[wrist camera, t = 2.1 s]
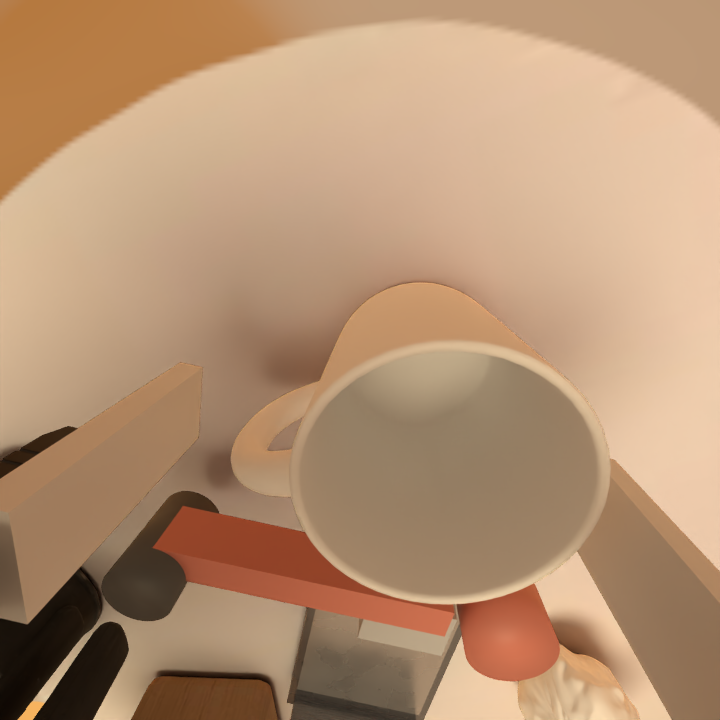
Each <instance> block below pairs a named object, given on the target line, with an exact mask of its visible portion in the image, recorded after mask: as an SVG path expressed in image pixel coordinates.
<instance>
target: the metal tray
mask: <svg viewBox="0 0 720 720" xmlns="http://www.w3.org/2000/svg"><path fill="white" fill-rule="evenodd" d="M454 605H455V610H456V616H457V622H456V624H455V626H454V628H453V631H452V633H451V635H450V638H449V640H448V642H447V645H446V647H445V649H444V651H443V654H442V656H439V655H434V654H430V653H425V652H420V651H416V650H411V649H406V648H402V647H397V646H392V645H388V644H383V643H379V642H374V641H369V640H365V639H360V638H358V628H359V618H356V617H351V616H346V615H342V614H337V613H332V612H328V611H323V610H318V609H314V608H309V607H308V609H307V613H306V618H305V622H304V627H303V631H302V636H301V640H300V645H299V649H298V654H297V658H296V663H295V667H294V671H293V676H292V680H291V685H290V690H289V695H288V699H287V703H291V704H293V709H292V714H291V719H290V720H424V718H425V715H426V713H427V711H428V709H429V706H430V704H431V702H432V700H433V698H434V695H435V693H436V691H437V689H438V686H439V684H440V682H441V680H442V678H443V675H444V673H445V671H446V669H447V666H448V664H449V662H450V660H451V657H452V655H453V653H454V651H455V649H456V646H457V644H458V642H459V640H460V637H461V635H462V633H461V628H460V622H459V617H458V611H457V606H456V604H454Z"/></svg>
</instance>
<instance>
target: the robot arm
mask: <svg viewBox="0 0 720 720" xmlns="http://www.w3.org/2000/svg"><path fill="white" fill-rule="evenodd" d="M202 374H203V367H199V366H195V365H190V364H186V363H182V362H180V363H178V364H177V365H175V366H174V367H172V368H171V369H169V370H168V371H166V372H165V373H163V374H161V375H160V376H158V377H157V378H155V379H154V380H152V381H151V382H149V383H148V384H146V385H144V386H143V387H141V388H140V389H138V390H137V391H135V392H134V393H132V394H131V395H129V396H127V397H126V398H124V399H123V400H121V401H120V402H118V403H117V404H115V405H114V406H112V407H110V408H109V409H107V410H106V411H104V412H103V413H101V414H100V415H98V416H96V417H95V418H93V419H92V420H90V421H89V422H87V423H86V424H84V425H83V426H81V427H79V428H74V427H70V426H67V427H64V428H61V429H59V430H56V431H53V432H50V433H47V434H44V435H42V436H40V437H38V438H37V439H35V440H33V441H32V442H30V443H28V444H27V445H25V446H23V447H22V448H21V450H20V451H15V452H13V453H12V454H10V455H8V456H7V457H5V458H3V460H2V462H0V618H2V619H7V620H11V621H15V622H19V623H24V624H28V623H29V622H30V621H31V620H32V619H33V618H34V617H35V616H36V615H37V614H38V613H39V611H40V610H41V609H42V608H43V607H44V606H45V605H46V604H47V603H48V602H49V600H50V599H51V598H52V597H53V596H54V595H55V594H56V593H57V592H58V591H59V590H60V588H61V587H62V586H63V585H64V584H65V583H66V582H67V581H68V580H69V579H70V578H71V576H72V575H73V574H74V573H75V572H76V571H77V570H78V569H79V568H80V567H81V566H82V564H83V563H84V562H85V561H86V560H87V559H88V558H89V557H90V556H91V555H92V554H93V552H94V551H95V550H96V549H97V548H98V547H99V546H100V545H101V544H102V543H103V541H104V540H105V539H106V538H107V537H108V536H109V535H110V534H111V533H112V532H113V531H114V529H115V528H116V527H117V526H118V525H119V524H120V523H121V522H122V521H123V520H124V519H125V517H126V516H127V515H128V514H129V513H130V512H131V511H132V510H133V509H134V508H135V507H136V505H137V504H138V503H139V502H140V501H141V500H142V499H143V498H144V497H145V496H146V495H147V493H148V492H149V491H150V490H151V489H152V488H153V487H154V486H155V485H156V484H157V482H158V481H159V480H160V479H161V478H162V477H163V476H164V475H165V474H166V473H167V472H168V470H169V469H170V468H171V467H172V466H173V465H174V464H175V463H176V462H177V461H178V460H179V458H180V457H181V456H182V455H183V454H184V453H185V452H186V451H187V450H188V449H189V448H190V446H191V445H192V444H193V443H194V442H195V441H196V440H197V439H198V438H199V426H200V409H201V392H202ZM610 465H611V471H610V486H609V490H608V495H607V499H606V503H605V506H604V508H603V511H602V513H601V516H600V519H599V520H598V522H597V524H596V526H595V527H594V529H593V531H592V533H591V534H590V536H589V537H588V538H587V539H586V541H585V542H584V543H583V545H582V546H581V547H580V548H579V549H578V550H577V552H578V553H579V555H580V557H581V559H582V561H583V562H584V564H585V566H586V568H587V569H588V571H589V573H590V575H591V577H592V578H593V580H594V582H595V584H596V585H597V587H598V589H599V591H600V593H601V594H602V596H603V598H604V600H605V601H606V603H607V605H608V607H609V609H610V610H611V612H612V614H613V616H614V617H615V619H616V621H617V623H618V625H619V626H620V628H621V630H622V632H623V633H624V635H625V637H626V639H627V641H628V642H629V644H630V646H631V648H632V649H633V651H634V653H635V655H636V657H637V658H638V660H639V662H640V664H641V665H642V667H643V669H644V671H645V673H646V674H647V676H648V678H649V680H650V682H651V683H652V685H653V687H654V689H655V690H656V692H657V694H658V696H659V698H660V699H661V701H662V703H663V705H664V706H665V708H666V710H667V712H668V714H669V715H670V717H671V719H672V720H720V571H719V570H718V569H717V568H716V567H715V566H714V565H713V564H712V563H711V562H710V561H709V560H708V559H707V557H706V556H705V555H704V554H703V553H702V552H701V551H700V550H699V549H698V548H697V547H696V546H695V545H694V544H693V543H692V541H691V540H690V539H689V538H688V537H687V536H686V535H685V534H684V533H683V532H682V531H681V530H680V529H679V528H678V527H677V526H676V524H675V523H674V522H673V521H672V520H671V519H670V518H669V517H668V516H667V515H666V514H665V513H664V512H663V511H662V510H661V508H660V507H659V506H658V505H657V504H656V503H655V502H654V501H653V500H652V499H651V498H650V497H649V496H648V495H647V494H646V493H645V491H644V490H643V489H642V488H641V487H640V486H639V485H638V484H637V483H636V482H635V481H634V480H633V479H632V478H631V477H630V476H629V474H628V473H627V472H626V471H625V470H624V469H623V468H622V467H621V466H620V465H619V464H618V463H617V462H616V461H615V460H614V459H610Z"/></svg>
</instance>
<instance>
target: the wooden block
mask: <svg viewBox="0 0 720 720" xmlns="http://www.w3.org/2000/svg"><path fill="white" fill-rule="evenodd" d="M131 720H278V718H277V714H276V709H275V705H274V700H273V696H272V692H271V687H270V685H268V684H267V683H266V682H263V681H261V680H250V679H224V678H199V677H174V676H161V677H158V678H155V679H154V680H153V681H152V683H151V684H150V685H149V686H148V688H147V690H146V692H145V694H144V696H143V698H142V699H141V701H140V703H139V705H138V707H137V709H136V711H135V713H134V715H133V717H132V719H131Z"/></svg>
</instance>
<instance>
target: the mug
mask: <svg viewBox="0 0 720 720" xmlns="http://www.w3.org/2000/svg"><path fill="white" fill-rule="evenodd" d="M302 417H303V419H302V422H301V424H300V426H299V428H298V431H297V434H296V437H295V440H294V443H293V445H292V449H288V450H281V451H267V449H268V447H269V445H270V443H271V442H272V440H273V439H274V438H275V436H276V435H277V434H278V433H280V432H281V431H282V430H283V429H284V428H286V427H287V426H288V425H290V424H291V423H293V422H295V421H296V420H298V419H300V418H302ZM231 465H232V469H233V473H234V475H235V476H236V477H237V479H238V480H239V481H240V482H241V484H242V485H244V486H245V487H247V488H248V489H250V490H252V491H255V492H257V493H260V494H263V495H267V496H275V497H291V498H292V502H293V505H294V509H295V512H296V515H297V517H298V519H299V522H300V524H301V526H302V528H303V530H304V531H305V533H306V535H307V536H308V538H309V539H310V541H311V542H312V544H313V545H314V546H315V547H316V548H317V550H318V551H319V552H320V553H321V554H322V555H323V556H324V557H325V558H326V559H327V560H328V561H329V562H330V563H331V564H332V565H333V566H334V567H336V568H337V569H338V570H340V571H341V572H342V573H344V574H345V575H346V576H348V577H350V578H351V579H353V580H355V581H357V582H358V583H360V584H362V585H364V586H366V587H368V588H370V589H373V590H375V591H377V592H380V593H383V594H386V595H389V596H392V597H395V598H399V599H403V600H408V601H412V602H420V603H428V604H466V603H473V602H479V601H486V600H489V599H493V598H497V597H501V596H505V595H507V594H510V593H513V592H516V591H519V590H521V589H523V588H525V587H527V586H530V585H532V584H534V583H536V582H538V581H539V580H541V579H543V578H544V577H546V576H547V575H549V574H551V573H552V572H554V571H555V570H556V569H557V568H559V567H560V566H561V565H563V564H564V563H565V562H566V561H567V560H568V559H569V558H570V557H571V556H572V555H573V554H574V553H575V552H576V551H577V550H578V549H579V548H580V547H581V546H582V545H583V543H584V542H585V541H586V539H587V538H588V537H589V536H590V534H591V533H592V531H593V529H594V527H595V526H596V524H597V522H598V520H599V519H600V516H601V513H602V511H603V508H604V506H605V503H606V499H607V495H608V490H609V486H610V471H611V465H610V456H609V448H608V444H607V441H606V438H605V434H604V431H603V428H602V426H601V424H600V422H599V419H598V417H597V415H596V413H595V411H594V410H593V408H592V407H591V405H590V404H589V403H588V401H587V400H586V398H585V397H584V396H583V394H582V393H581V392H580V391H579V390H578V389H577V388H576V387H575V386H574V385H573V384H572V383H571V382H570V381H569V380H568V379H567V378H566V377H565V376H563V375H562V374H561V373H560V372H559V371H557V370H556V369H555V368H554V367H553V366H552V365H550V364H549V363H548V362H547V361H546V360H545V359H543V358H542V357H541V356H540V355H539V354H538V353H536V352H535V351H534V350H533V349H532V348H530V347H529V346H528V345H527V344H526V343H525V342H523V341H522V340H521V339H520V338H519V337H518V336H516V335H515V334H514V333H513V332H512V331H511V330H509V329H508V328H507V327H506V326H505V325H503V324H502V323H501V322H500V321H499V320H498V319H496V318H495V317H494V316H493V315H492V314H491V313H489V312H488V311H487V310H486V309H485V308H484V307H482V306H481V305H480V304H478V303H477V302H476V301H474V300H473V299H472V298H470V297H469V296H467V295H465V294H463V293H462V292H460V291H458V290H455V289H453V288H450V287H448V286H444V285H440V284H436V283H426V282H418V283H407V284H401V285H397V286H394V287H391V288H388V289H386V290H384V291H382V292H379V293H378V294H376V295H374V296H373V297H371V298H369V299H368V300H367V301H366V302H365V303H363V304H362V305H361V306H360V307H359V308H358V309H357V310H356V311H355V312H354V313H353V314H352V316H351V317H350V319H349V320H348V321H347V323H346V324H345V326H344V328H343V330H342V332H341V334H340V336H339V338H338V340H337V342H336V344H335V347H334V349H333V351H332V354H331V356H330V358H329V360H328V363H327V365H326V367H325V369H324V372H323V374H322V376H321V378H320V381H318V382H314V383H311V384H308V385H306V386H303V387H300V388H298V389H295V390H293V391H291V392H289V393H287V394H285V395H283V396H281V397H279V398H278V399H276V400H274V401H273V402H271V403H270V404H268V405H267V406H265V407H264V408H263V409H262V410H260V411H259V412H258V413H257V414H256V415H255V416H254V417H253V418H252V419H250V421H249V422H248V423H247V424H246V425H245V426H244V428H243V429H242V430H241V431H240V433H239V434H238V436H237V438H236V440H235V442H234V444H233V448H232V452H231Z"/></svg>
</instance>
